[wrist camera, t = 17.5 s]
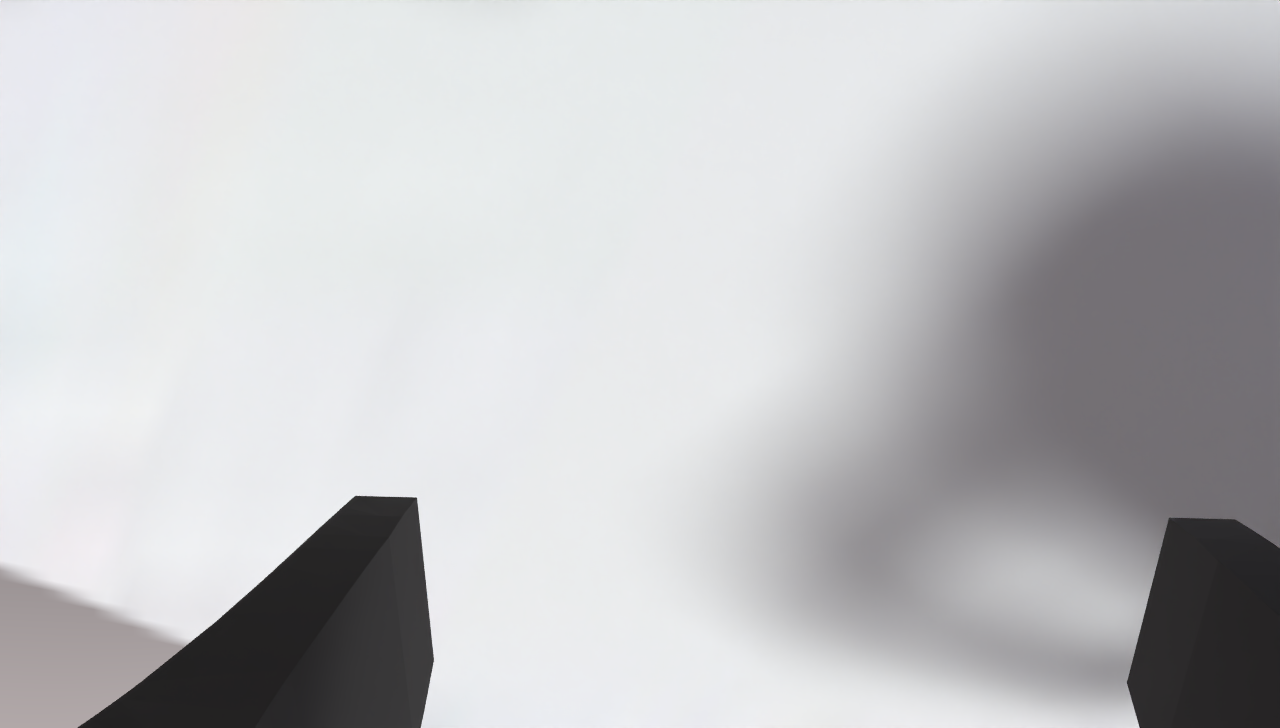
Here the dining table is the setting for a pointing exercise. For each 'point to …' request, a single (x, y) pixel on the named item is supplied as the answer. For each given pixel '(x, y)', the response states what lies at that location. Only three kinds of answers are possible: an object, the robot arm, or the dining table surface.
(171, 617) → the dining table surface
